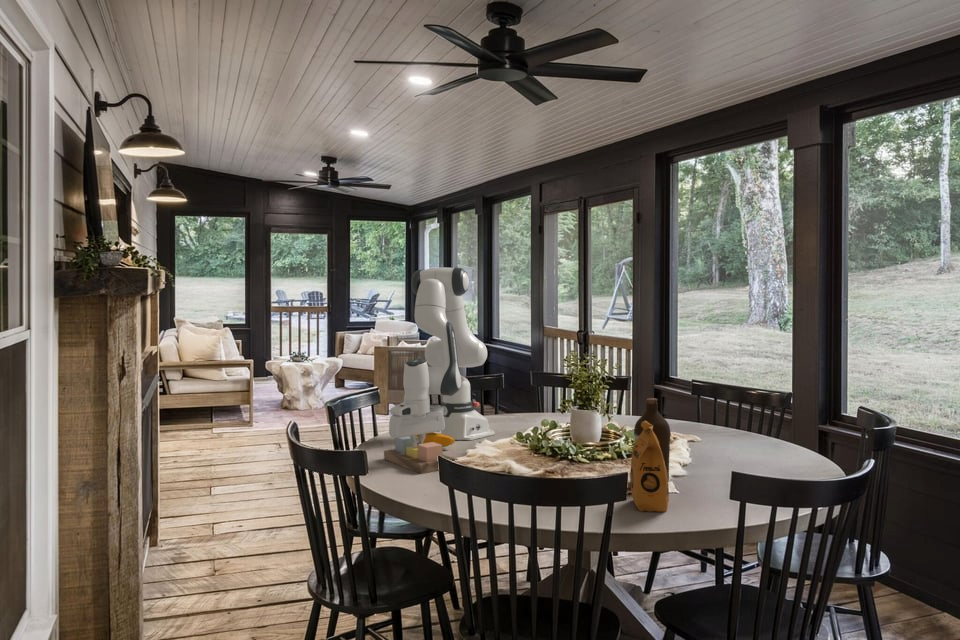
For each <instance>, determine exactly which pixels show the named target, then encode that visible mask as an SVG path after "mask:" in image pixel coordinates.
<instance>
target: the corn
mask: <svg viewBox="0 0 960 640" xmlns="http://www.w3.org/2000/svg"><path fill="white" fill-rule="evenodd" d="M416 437H418V442H419V439H420V436H419V435H416ZM430 442H434V443H438V444H441V445H442V448H445V447H449V446H452V445H453V444H454V443H455V442H456V440H454V439H453V438H452V437H450V436H447V435H443V434H441V431H439V432H433V433H426V437H425V439H424V441H423V444H424V443H430Z"/></svg>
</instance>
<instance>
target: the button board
mask: <svg viewBox="0 0 960 640" xmlns="http://www.w3.org/2000/svg"><path fill="white" fill-rule="evenodd" d="M443 456H444V457H445V458H447V459H450V460H452V461H455V462H456V458H454V457H451V456H449V455H446V454H443ZM385 459H386V460H385ZM383 460H385V461H388V460H389V461H388V462H390V461H391V462H390V463H392V464H395V463H396V464H395V465H398V466H400V467H403V468H405V469H407V468H408V470H410V471H413V472H416V473H418V474H420V475H422V474H423V475H424V474H428V473H434V472H438V461H432V462H424V461H421V460H419V459H418V457H417V458H413V457H411V456H408V455H406V453H404V454H403V453H400V452H397V451H395V448H393V449H386V450H383Z"/></svg>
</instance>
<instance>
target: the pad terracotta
mask: <svg viewBox="0 0 960 640" xmlns="http://www.w3.org/2000/svg"><path fill="white" fill-rule="evenodd" d="M443 451H444V450H443V447H442V445H441V444H438V443H434V442H430V443H424V444H418V459H419V460H421V461H424V462H432V461H437V456H438V455H442V456H443V455H444V454H443Z"/></svg>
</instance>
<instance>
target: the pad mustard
mask: <svg viewBox="0 0 960 640" xmlns="http://www.w3.org/2000/svg"><path fill="white" fill-rule="evenodd" d="M406 455H408V456H411V457H413V458H417V457H418V448H414V447H413V446H410V447H406Z"/></svg>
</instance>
